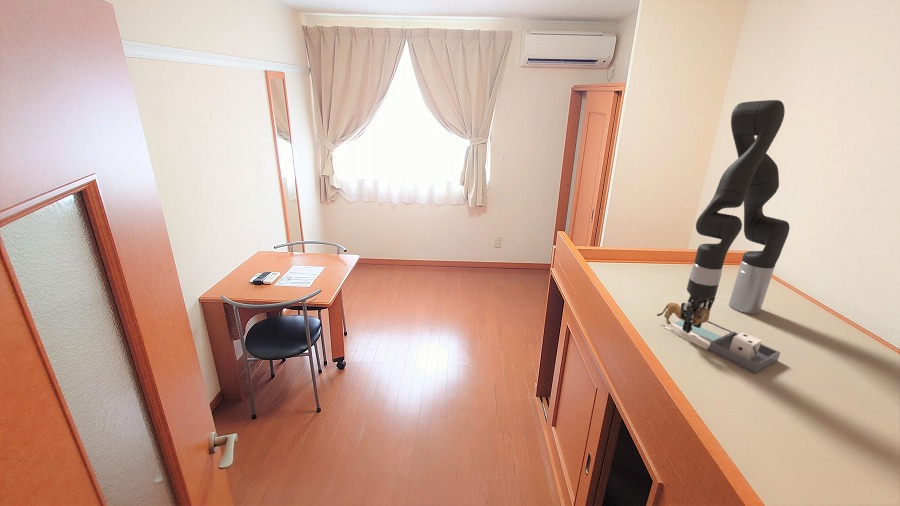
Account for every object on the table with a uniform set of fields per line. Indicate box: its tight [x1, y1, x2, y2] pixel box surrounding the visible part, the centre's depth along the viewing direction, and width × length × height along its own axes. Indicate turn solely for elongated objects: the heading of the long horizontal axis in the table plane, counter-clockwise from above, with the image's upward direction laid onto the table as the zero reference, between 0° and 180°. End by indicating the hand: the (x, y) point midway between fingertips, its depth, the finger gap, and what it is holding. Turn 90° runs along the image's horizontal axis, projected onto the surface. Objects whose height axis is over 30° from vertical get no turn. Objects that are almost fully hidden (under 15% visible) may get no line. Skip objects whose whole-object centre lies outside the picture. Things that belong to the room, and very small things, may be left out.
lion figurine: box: [656, 302, 711, 333], centre depth 125 cm, size 15×5×9 cm, turn 38°
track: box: [663, 319, 733, 350], centre depth 127 cm, size 17×14×1 cm
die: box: [730, 331, 763, 360], centre depth 114 cm, size 5×5×5 cm
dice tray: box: [707, 331, 781, 375], centre depth 115 cm, size 12×12×3 cm
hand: (691, 328), depth 124 cm, fingers closed on lion figurine, 4 cm apart
